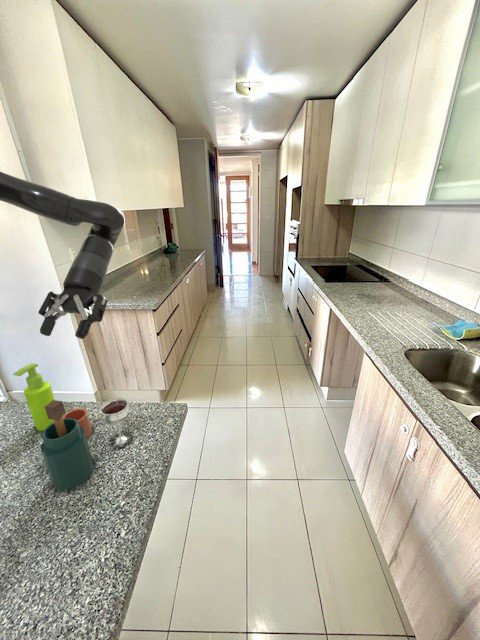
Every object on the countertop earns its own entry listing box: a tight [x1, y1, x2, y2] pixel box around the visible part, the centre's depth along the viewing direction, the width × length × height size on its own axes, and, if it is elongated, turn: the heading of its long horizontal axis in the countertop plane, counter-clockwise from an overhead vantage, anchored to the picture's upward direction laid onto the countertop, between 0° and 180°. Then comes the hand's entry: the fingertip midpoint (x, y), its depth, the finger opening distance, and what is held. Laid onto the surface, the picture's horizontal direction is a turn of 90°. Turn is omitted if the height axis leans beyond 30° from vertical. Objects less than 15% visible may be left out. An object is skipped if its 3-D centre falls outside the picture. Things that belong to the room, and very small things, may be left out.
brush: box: [45, 399, 67, 438], centre depth 58 cm, size 3×3×20 cm
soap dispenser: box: [12, 362, 56, 432], centre depth 72 cm, size 6×7×20 cm
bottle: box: [40, 418, 94, 491], centre depth 59 cm, size 8×8×14 cm
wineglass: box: [99, 397, 131, 445], centre depth 69 cm, size 7×7×12 cm
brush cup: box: [62, 408, 93, 439], centre depth 71 cm, size 6×6×7 cm
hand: (61, 336), depth 57 cm, fingers open, 8 cm apart
